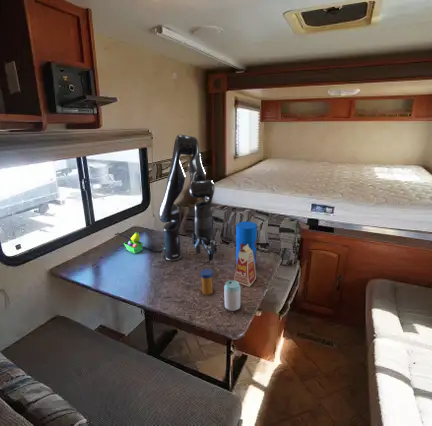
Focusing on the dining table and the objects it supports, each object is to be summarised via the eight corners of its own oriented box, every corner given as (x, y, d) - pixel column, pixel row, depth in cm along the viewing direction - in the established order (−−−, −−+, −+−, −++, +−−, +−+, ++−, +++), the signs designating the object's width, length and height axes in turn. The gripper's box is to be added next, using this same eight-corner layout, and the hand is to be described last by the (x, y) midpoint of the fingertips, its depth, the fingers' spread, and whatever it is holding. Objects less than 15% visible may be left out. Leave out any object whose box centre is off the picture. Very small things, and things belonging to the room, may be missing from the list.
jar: (200, 291, 138) (199, 272, 134) (207, 287, 141) (206, 268, 137) (207, 296, 134) (206, 277, 130) (215, 291, 137) (214, 272, 134)
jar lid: (198, 275, 134) (198, 272, 134) (206, 270, 138) (206, 267, 138) (206, 280, 131) (206, 276, 130) (215, 275, 134) (215, 271, 134)
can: (222, 309, 125) (222, 286, 120) (227, 300, 131) (226, 278, 127) (238, 313, 122) (238, 289, 118) (242, 303, 128) (242, 280, 124)
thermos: (233, 268, 157) (233, 227, 148) (240, 259, 165) (240, 220, 157) (252, 273, 152) (252, 230, 143) (258, 263, 161) (259, 223, 152)
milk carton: (249, 286, 140) (250, 250, 133) (232, 281, 145) (232, 246, 138) (256, 277, 147) (257, 243, 140) (240, 273, 152) (240, 239, 145)
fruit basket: (124, 250, 182) (121, 234, 178) (135, 245, 188) (133, 229, 185) (134, 255, 175) (132, 238, 171) (146, 250, 181) (144, 234, 178)
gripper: (220, 226, 122) (221, 259, 128) (198, 218, 132) (200, 248, 138) (208, 232, 117) (209, 265, 123) (186, 222, 127) (188, 254, 133)
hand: (204, 256), depth 131 cm, fingers open, 8 cm apart
